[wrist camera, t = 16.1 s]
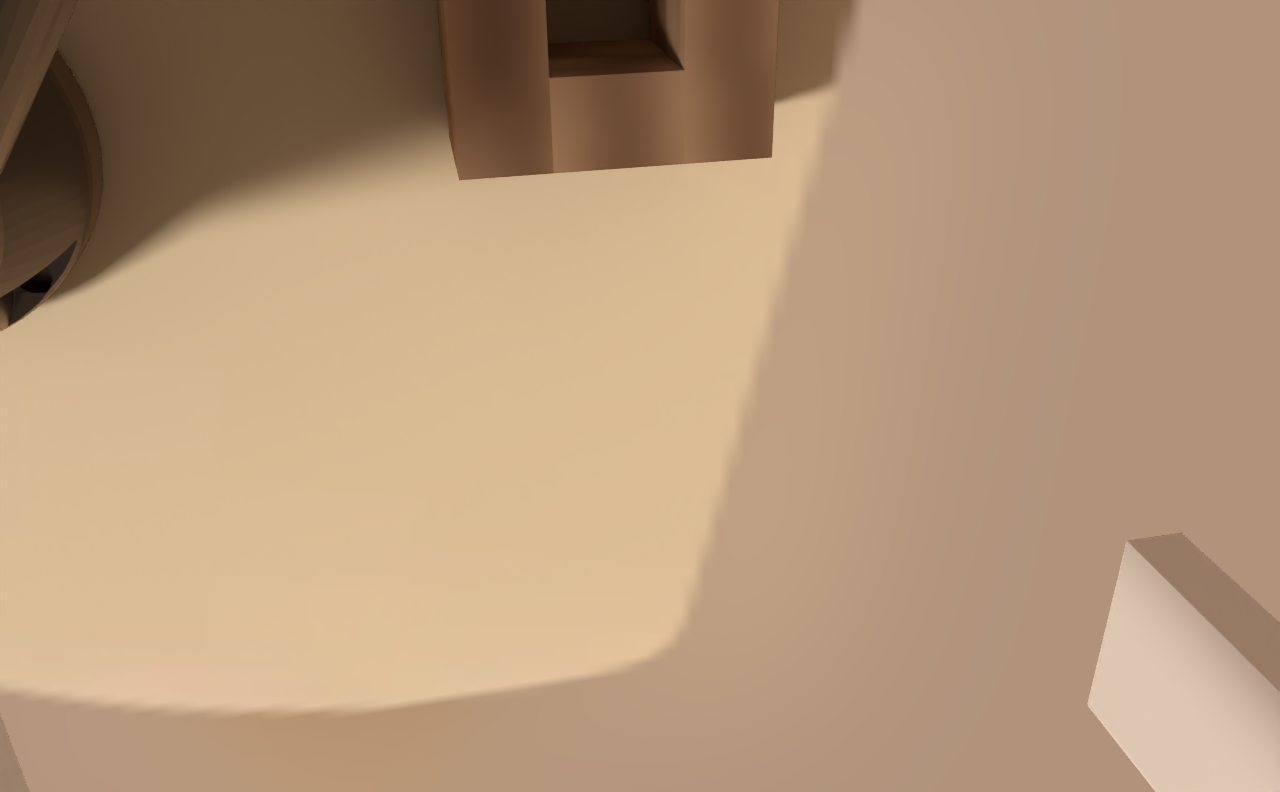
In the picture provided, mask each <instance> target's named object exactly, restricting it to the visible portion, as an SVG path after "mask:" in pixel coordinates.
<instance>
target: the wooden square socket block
mask: <svg viewBox="0 0 1280 792" xmlns="http://www.w3.org/2000/svg"><path fill="white" fill-rule="evenodd" d="M437 8H438V19H439V30H440V41H441V52H442V62H443V73H444V84H445V95H446V106H447V117H448V128H449V138H450V142H451V146H452V151H453V155H454V159H455V164H456V168H457V172H458V177H459V180H467V179H481V178H495V177H509V176H522V175H536V174H550V173H564V172H578V171H591V170H605V169H619V168H633V167H647V166H660V165H674V164H688V163H702V162H716V161H729V160H743V159H757V158H771V157H772V141H773V120H774V99H775V77H776V56H777V35H778V14H779V0H649V39H645V40H625V41H606V42H587V43H568V44H548V43H547V22H546V1H545V0H437Z"/></svg>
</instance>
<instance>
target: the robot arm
mask: <svg viewBox="0 0 1280 792" xmlns="http://www.w3.org/2000/svg"><path fill="white" fill-rule="evenodd" d="M77 2H78V0H0V331H2V330H4V329H6V328H8V327H10V326H11V325H13V324H15V323H16V322H18V321H20V320H21V319H23V318H24V317H26V316H27V315H28V314H30V313H31V312H32V311H34V310H35V309H36V308H37V307H39V306H40V305H41V304H42V303H43V302H44V301H45V300H47V299H48V298H49V297H50V296H51V295H52V293H53V292H54V291H55V290H56V289H57V288H58V287H59V286H60V284H61V283H62V282H63V281H64V279H65V278H66V276H67V275H68V273H69V272H70V270H71V269H72V267H73V266H74V264H75V263H76V261H77V259H78V258H79V256H80V255H81V253H82V251H83V250H84V248H85V246H86V244H87V242H88V240H89V238H90V236H91V233H92V231H93V228H94V225H95V222H96V219H97V216H98V211H99V207H100V202H101V194H102V181H103V172H102V157H101V149H100V144H99V139H98V134H97V131H96V127H95V123H94V120H93V117H92V114H91V112H90V109H89V106H88V104H87V102H86V99H85V97H84V95H83V93H82V91H81V89H80V87H79V85H78V83H77V81H76V79H75V78H74V76H73V74H72V73H71V71H70V69H69V68H68V66H67V65H66V63H65V62H64V60H63V59H62V57H61V56H60V55H59V53H58V52H57V51H56V49H57V47H58V45H59V43H60V40H61V38H62V36H63V34H64V31H65V29H66V27H67V25H68V22H69V20H70V18H71V16H72V13H73V11H74V9H75V7H76V4H77ZM1088 706H1089V708H1090V709H1091V710H1092V711H1093V713H1094V714H1095V715H1096V717H1097V718H1098V719H1099V720H1100V722H1101V723H1102V724H1103V725H1104V727H1105V728H1106V729H1107V731H1108V732H1109V733H1110V734H1111V736H1112V737H1113V738H1114V739H1115V741H1116V742H1117V743H1118V745H1119V746H1120V747H1121V748H1122V750H1123V751H1124V752H1125V753H1126V755H1127V756H1128V757H1129V759H1130V760H1131V761H1132V762H1133V764H1134V765H1135V766H1136V767H1137V769H1138V770H1139V771H1140V772H1141V774H1142V775H1143V776H1144V778H1145V779H1146V780H1147V781H1148V783H1149V784H1150V785H1151V787H1152V788H1153V789H1154V790H1155V791H1156V792H1280V622H1278V621H1277V620H1276V619H1275V618H1274V617H1273V616H1272V615H1271V614H1270V613H1268V612H1267V611H1266V610H1265V609H1264V608H1263V607H1262V606H1261V605H1260V604H1259V603H1258V602H1256V601H1255V600H1254V599H1253V598H1252V597H1251V596H1250V595H1249V594H1248V593H1247V592H1246V591H1244V590H1243V589H1242V588H1241V587H1240V586H1239V585H1238V584H1237V583H1236V582H1235V581H1234V580H1232V579H1231V578H1230V577H1229V576H1228V575H1227V574H1226V573H1225V572H1224V571H1222V570H1221V569H1220V568H1219V567H1218V566H1217V565H1216V564H1215V563H1214V562H1213V561H1211V559H1209V558H1208V557H1207V556H1206V555H1205V554H1204V553H1203V552H1202V551H1201V550H1200V549H1198V548H1197V547H1196V546H1195V545H1194V544H1193V543H1192V542H1191V541H1190V540H1189V539H1188V538H1186V537H1185V536H1184V535H1183V534H1182V533H1176V534H1169V535H1162V536H1156V537H1149V538H1142V539H1135V540H1128V541H1127V542H1126V546H1125V550H1124V554H1123V558H1122V563H1121V567H1120V572H1119V575H1118V579H1117V584H1116V588H1115V592H1114V596H1113V600H1112V605H1111V609H1110V613H1109V617H1108V622H1107V625H1106V630H1105V634H1104V638H1103V642H1102V646H1101V651H1100V655H1099V659H1098V663H1097V667H1096V672H1095V676H1094V680H1093V684H1092V688H1091V692H1090V697H1089V701H1088ZM0 792H30V791H29V789H28V786H27V784H26V781H25V778H24V776H23V773H22V770H21V768H20V765H19V762H18V760H17V757H16V755H15V752H14V749H13V747H12V744H11V741H10V739H9V736H8V733H7V731H6V728H5V726H4V723H3V720H2V718H1V715H0Z"/></svg>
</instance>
